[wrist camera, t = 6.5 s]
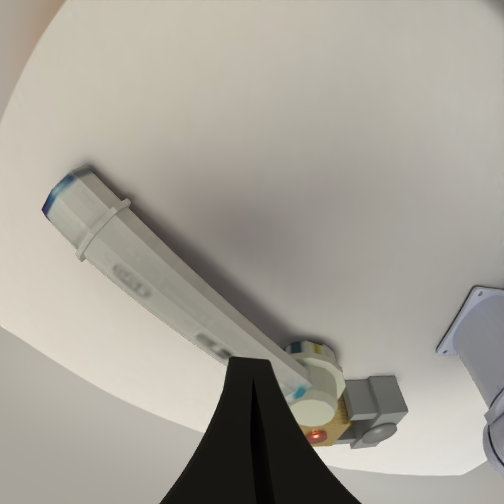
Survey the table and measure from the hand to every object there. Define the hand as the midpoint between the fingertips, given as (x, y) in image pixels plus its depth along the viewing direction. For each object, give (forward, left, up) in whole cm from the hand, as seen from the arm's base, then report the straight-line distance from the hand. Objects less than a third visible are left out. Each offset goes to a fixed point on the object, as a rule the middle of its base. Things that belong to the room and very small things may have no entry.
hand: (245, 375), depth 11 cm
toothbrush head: (+1, +5, -11) cm, 12 cm away
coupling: (-14, +16, -10) cm, 24 cm away
